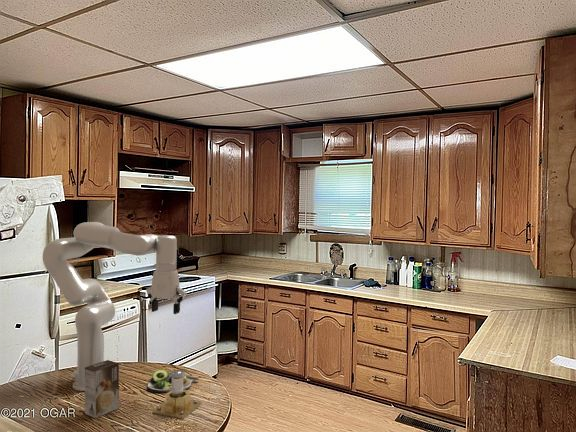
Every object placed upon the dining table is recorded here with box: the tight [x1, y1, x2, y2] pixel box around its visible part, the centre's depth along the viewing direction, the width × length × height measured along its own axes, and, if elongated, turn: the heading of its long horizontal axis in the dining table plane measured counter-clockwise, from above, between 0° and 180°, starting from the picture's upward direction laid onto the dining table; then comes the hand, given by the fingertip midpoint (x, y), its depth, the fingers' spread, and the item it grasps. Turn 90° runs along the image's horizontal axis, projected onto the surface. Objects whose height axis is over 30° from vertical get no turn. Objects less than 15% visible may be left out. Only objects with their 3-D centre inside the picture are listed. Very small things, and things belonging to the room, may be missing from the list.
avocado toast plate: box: [146, 368, 200, 394], centre depth 174 cm, size 19×18×5 cm
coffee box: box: [84, 359, 120, 419], centre depth 150 cm, size 9×6×16 cm
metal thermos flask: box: [170, 369, 185, 398], centre depth 153 cm, size 4×4×12 cm
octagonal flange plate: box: [152, 389, 202, 420], centre depth 153 cm, size 12×12×5 cm
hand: (165, 312), depth 167 cm, fingers open, 9 cm apart
